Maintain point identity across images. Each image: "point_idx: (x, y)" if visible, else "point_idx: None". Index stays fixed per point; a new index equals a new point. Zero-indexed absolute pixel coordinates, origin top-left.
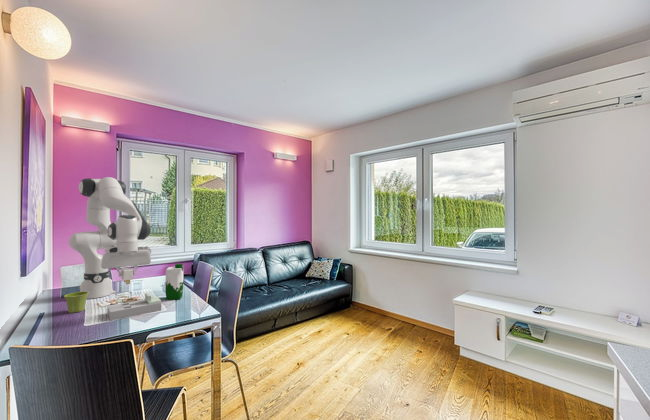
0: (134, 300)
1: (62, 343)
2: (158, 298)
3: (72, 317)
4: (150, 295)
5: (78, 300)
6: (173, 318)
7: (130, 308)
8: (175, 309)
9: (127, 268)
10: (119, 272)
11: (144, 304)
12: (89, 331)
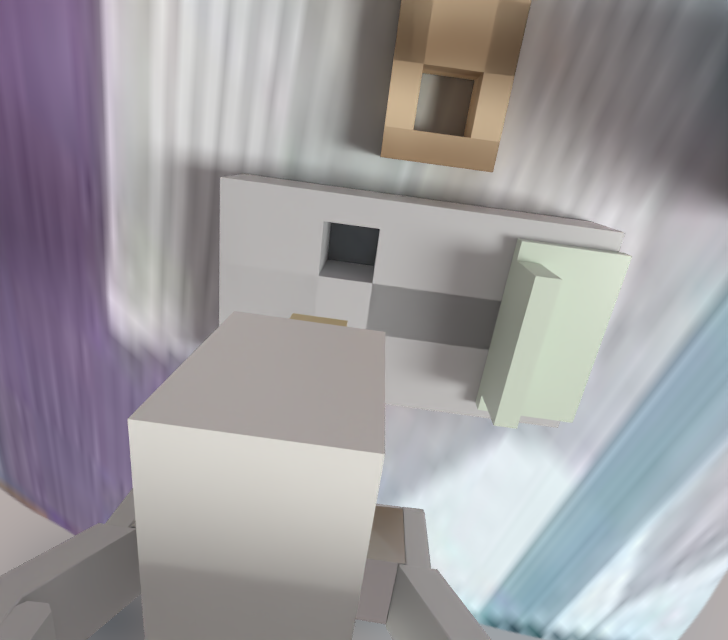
0: (487, 54)
1: (41, 500)
2: (594, 348)
3: (19, 37)
4: (519, 411)
5: None
6: (500, 564)
7: None
8: (604, 442)
9: (282, 557)
10: (107, 600)
11: (452, 378)
12: None
